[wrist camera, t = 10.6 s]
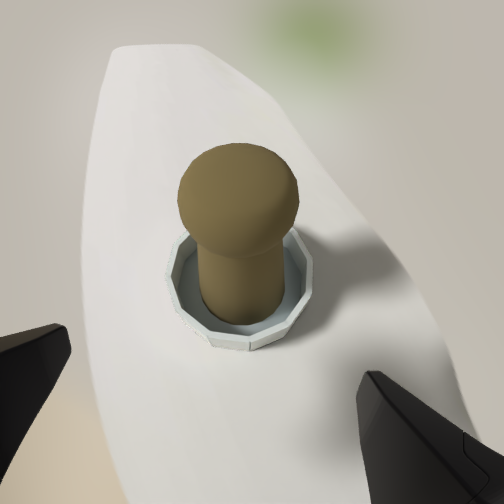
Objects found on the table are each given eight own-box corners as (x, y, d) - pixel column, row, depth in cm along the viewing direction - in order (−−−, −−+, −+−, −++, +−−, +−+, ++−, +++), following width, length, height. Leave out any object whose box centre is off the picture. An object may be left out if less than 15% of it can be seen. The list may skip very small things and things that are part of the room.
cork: (276, 242, 22) (294, 120, 13) (292, 318, 19) (335, 224, 10) (196, 252, 22) (164, 133, 12) (203, 331, 19) (156, 245, 9)
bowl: (253, 377, 18) (254, 372, 15) (151, 295, 21) (139, 279, 18) (327, 273, 22) (337, 255, 19) (230, 212, 24) (228, 190, 22)
